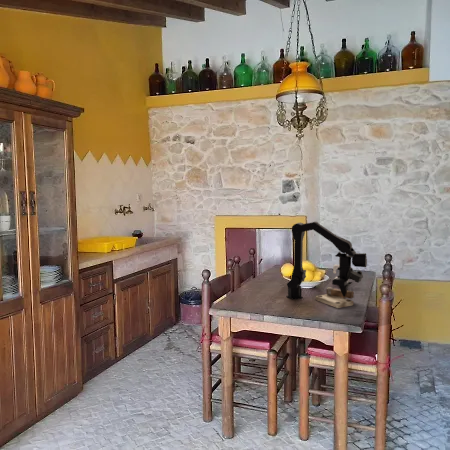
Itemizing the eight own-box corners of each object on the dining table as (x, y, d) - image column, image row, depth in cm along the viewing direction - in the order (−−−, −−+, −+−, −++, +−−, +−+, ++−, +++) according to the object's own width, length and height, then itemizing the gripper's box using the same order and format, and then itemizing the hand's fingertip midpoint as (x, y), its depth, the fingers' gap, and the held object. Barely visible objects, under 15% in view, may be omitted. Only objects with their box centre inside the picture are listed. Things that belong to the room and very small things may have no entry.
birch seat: (337, 308, 211) (337, 303, 211) (315, 299, 226) (315, 295, 226) (353, 305, 215) (353, 300, 215) (331, 297, 231) (331, 293, 230)
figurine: (334, 282, 263) (334, 257, 261) (350, 283, 259) (350, 258, 257) (331, 285, 256) (331, 259, 255) (348, 286, 252) (348, 260, 251)
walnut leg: (325, 294, 227) (325, 288, 227) (328, 293, 230) (328, 287, 230) (350, 298, 219) (350, 292, 218) (353, 297, 221) (353, 290, 221)
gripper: (354, 270, 206) (353, 302, 208) (367, 264, 221) (366, 295, 223) (332, 267, 213) (331, 299, 214) (345, 262, 228) (344, 292, 229)
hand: (344, 296), depth 220 cm, fingers closed
